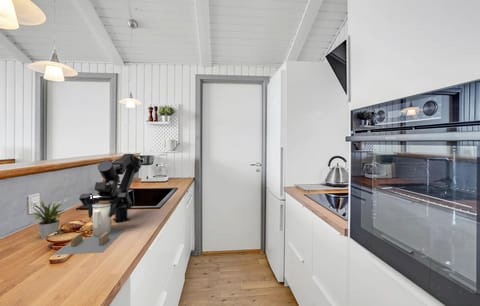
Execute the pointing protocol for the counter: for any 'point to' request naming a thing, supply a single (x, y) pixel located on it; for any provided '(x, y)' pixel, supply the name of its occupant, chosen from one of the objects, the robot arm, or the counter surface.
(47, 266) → the counter surface
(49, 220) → the house plant
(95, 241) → the holder
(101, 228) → the white mug
